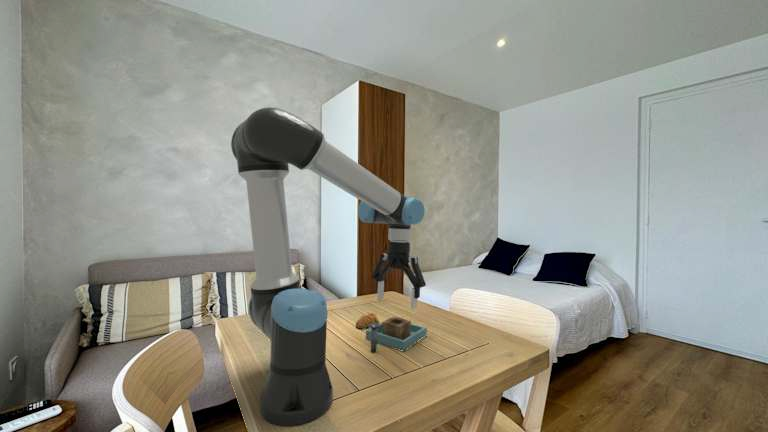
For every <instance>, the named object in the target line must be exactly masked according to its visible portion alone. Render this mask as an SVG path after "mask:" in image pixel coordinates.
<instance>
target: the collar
mask: <svg viewBox="0 0 768 432" xmlns="http://www.w3.org/2000/svg"><path fill="white" fill-rule="evenodd" d="M381 323H382V334H385V335H388V336H391V337H394V338H398V339H401V340H404V339H406V338H407V337H409V336H410V335H411V324H412V320H409V319H405V318H401V317H397V316H392V317H390V318H388V319H386V320H383V321H382V322H381Z"/></svg>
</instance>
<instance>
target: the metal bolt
mask: <svg viewBox="0 0 768 432" xmlns="http://www.w3.org/2000/svg"><path fill="white" fill-rule="evenodd" d="M379 324H380V323H378V324H377V323H371V324H370V328H371V341H370V352H371V353H373V354H375V353H377V348H378V347H377V344H378V343H377V328H378V327H379Z"/></svg>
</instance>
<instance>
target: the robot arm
mask: <svg viewBox="0 0 768 432" xmlns="http://www.w3.org/2000/svg"><path fill="white" fill-rule="evenodd" d="M230 141H231V142H230V149H231V152H232V155H233V157H234V158H235V160H236V163H237V170H238V171H237V172H238V176H239V177H241V178H242V179H243V180H244V181H245V182H246V191H247V200H248V202H247V203H248V209H249V220H250V228H251V230H250V231H251V238H252V248H253V249H252V250H253V256H254V257H253V259H254V267H255V279H254V280H253V281H252V282H251V284H250V293H251V294H250V295H251V296H250V299H249V303H248V313H249V318H250V319H251V322H252V323H253V324H254V326H255V327H256V328H257V329H259V330H260V331H261V332H262V333H263V334H264V335H265V336H266V337H267V338H268V339H269V340H270V358H269V359H270V360H269V362H270V363H269V372H268V375H267V377H266V381H265V385H264V388H263V390H262V393H261V395H260V398H259V399H260V400H259V401H260V402H259V403H260V404H259V406H260V407H259V409H260V410H259V411H260V415H261V416H262V418H263V419H265V420H266V421H268V422H269V423H272V424H273V425H278V426H296V425H302V424H305V423H309V422H311V421H314V420H316V419H317V418H320V416H322V415H324V414H325V413H326V412H327V410H329V408H330V407H331V405H332V403H333V394H334V393H333V391H334V389H333V385H332V382H331V378H330V374H329V371H328V368H327V365H326V357H327V355H326V354H327V353H326V352H327V351H326V350H327V349H326V348H327V326H328V325H327V322H328V320H327V319H328V314H329V313H328V308H327V307H328V306H327V300H326V298H325V297H324V295H322V293H320V292H318V291H316V290H312V289H310V290H308V288H301V287H300V277H299V276H298V275H297V274H295V273H294V272H293V266H292V255H291V245H290V236H289V235H290V234H289V225H288V214H287V205H286V195H285V193H286V192H285V184H284V182H285V181H284V179H285V178H286V177H287V176H288V175H289V174H290V169H289V165H292V166H294V167H296V168H297V169H299V170H301V171H303V170H309V171H311V172H313V173H314V174H316V175H318V176H319V177H321V178H322V179H324V180H326V181H327V182H329V183H331V184H333V185H334V186H336V187H338V189H341V190H343V191H344V192H346V193H347V194H349V195H351V196H352V197H354V198H356V199H358V200H359V201H360V202H359V204H358V208H357V210H358V211H357V215H358V218H359V220H360V221H361V222H363V223H368V224H388V234H387V236H388V237H387V239H388V240H389V241H387V252H388V254H387V253H386V252H385V253H380V255H379V260H378V263H377V265H376V267H375V269H374V271H373V273H372V274H371V279H374V280H375V282H376V283H375V284H376V287H375V290H376V291H377V294H376V295H377V298H376V299H377V301H378V302H379V301H382V300H384V292H385V280H384V278H385V277H386V276H387V275H388V273H389V272H390V271H391V270H392V269H397V270H402V271H403V272H404V273H405V275H406V276H407V278H408V280H409V281H410V283H411V285H412V287H411V300H410V302H411V303H410V308H411V309H413V310H414V309H416V308H417V307H418V299H419V298H420V297H421V295H420V294H421V288H423V287H426V286H427V285H426V282H425V278H424V276H423V272H422V270H421V268H420V265H419V258H418V257H417V256H414V257H410V249H411V243H410V241H411V225H417V224H420V223H421V222H422V221H423V219H424V216H425V213H426V211H425V205H424V202H423V201H422V200H421V199H420V198H418V197H412V196H407V195H404V194H402V193H401V192H399V190H397V189H395V188H394V187H392V186H391V185H389V184H388V183H386V182H385V181H384V180H382V179H381V178H379V177H378V176H377V175H375V174H374V173H372V172H371V171H369V170H368V169H366V168H365V167H363V166H362V165H360V163H358V162H356V161H355V160H353V159H352V158H351V157H349V156H348V155H346V154H345V153H344V152H342V151H340V150H339V149H338V148H336V147H335V146H333V145H332V144H330V143H329V142H328V141H326V138H325V134H324V133H323V132H321V131H320V130H319V129H318V128H316V127H315V126H313V125H312V124H310V123H309V122H308V121H305V120H304V119H302V118H301V117H299V116H297V115H295V114H293V113H291V112H289V111H286V110H284V109H281V108H277V107H269V106H268V107H262V108H259V109H257V110H255V111H254V112H252V113H251V114H249V116H248V117H247V118H246V119H245V120H244V121H243V122H241V123H240V124H239V125H238V126H237V127H236V128H235V130H234V131H233V133H232V136H231V140H230ZM387 261H388V262H387ZM386 262H387V263H386ZM409 263H410V264H411V266H410V264H409ZM385 264H386V265H385Z"/></svg>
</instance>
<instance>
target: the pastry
mask: <svg viewBox="0 0 768 432" xmlns="http://www.w3.org/2000/svg"><path fill="white" fill-rule="evenodd" d="M371 323H377V324H380V321H379V318H378V316H377V314H375V313H374V312H372V313H368V314H365V315H362V316H361V317H360V318H359V319H358V320H356V322H355V327H356V328H358V329H361V328H365V329H368V328H367V327H370V324H371Z"/></svg>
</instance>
